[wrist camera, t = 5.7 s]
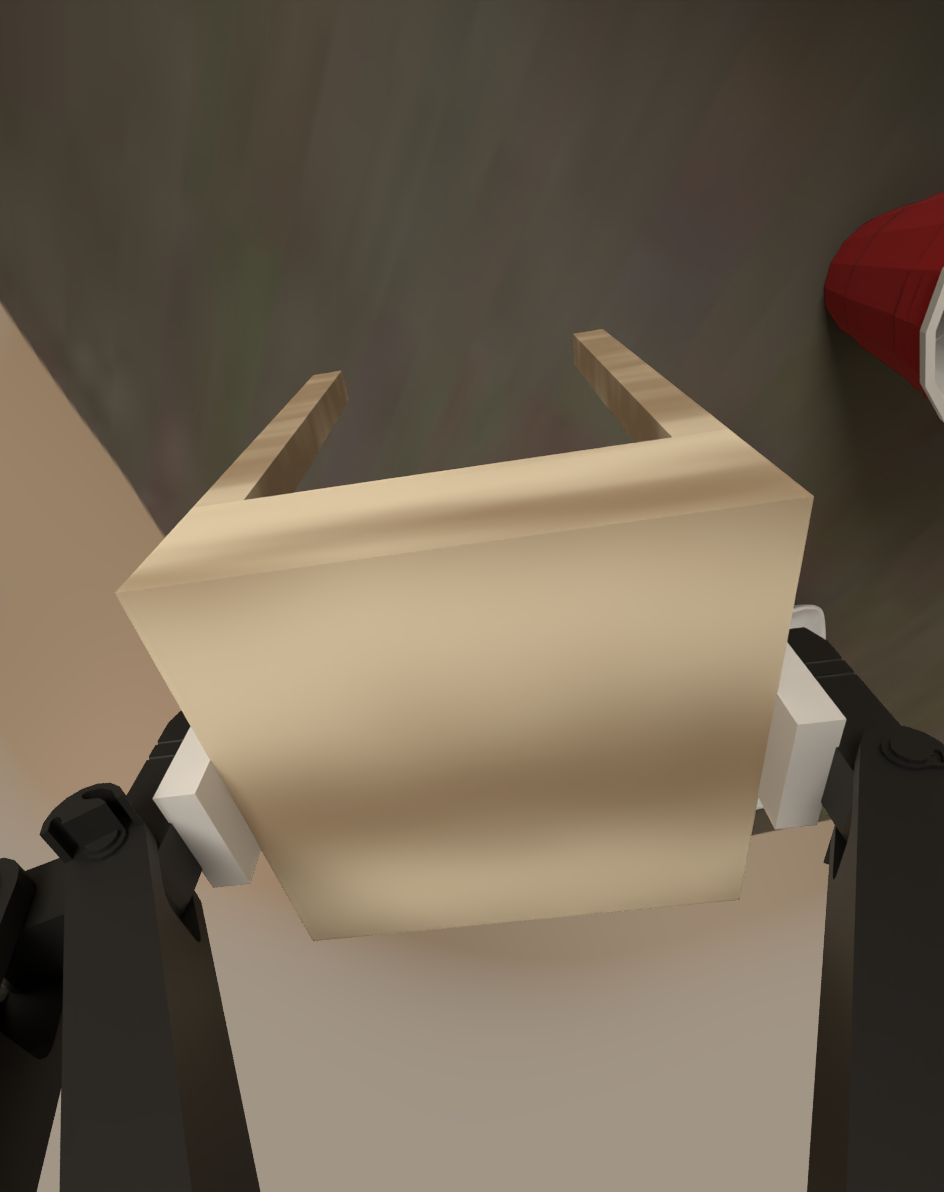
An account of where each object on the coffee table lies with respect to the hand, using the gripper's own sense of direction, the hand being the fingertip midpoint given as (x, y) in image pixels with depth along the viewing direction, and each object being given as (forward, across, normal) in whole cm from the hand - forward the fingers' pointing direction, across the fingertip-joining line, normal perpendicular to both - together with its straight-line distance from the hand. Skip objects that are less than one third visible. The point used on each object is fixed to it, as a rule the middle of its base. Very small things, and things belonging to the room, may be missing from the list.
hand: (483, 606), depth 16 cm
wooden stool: (+8, 0, 0) cm, 8 cm away
